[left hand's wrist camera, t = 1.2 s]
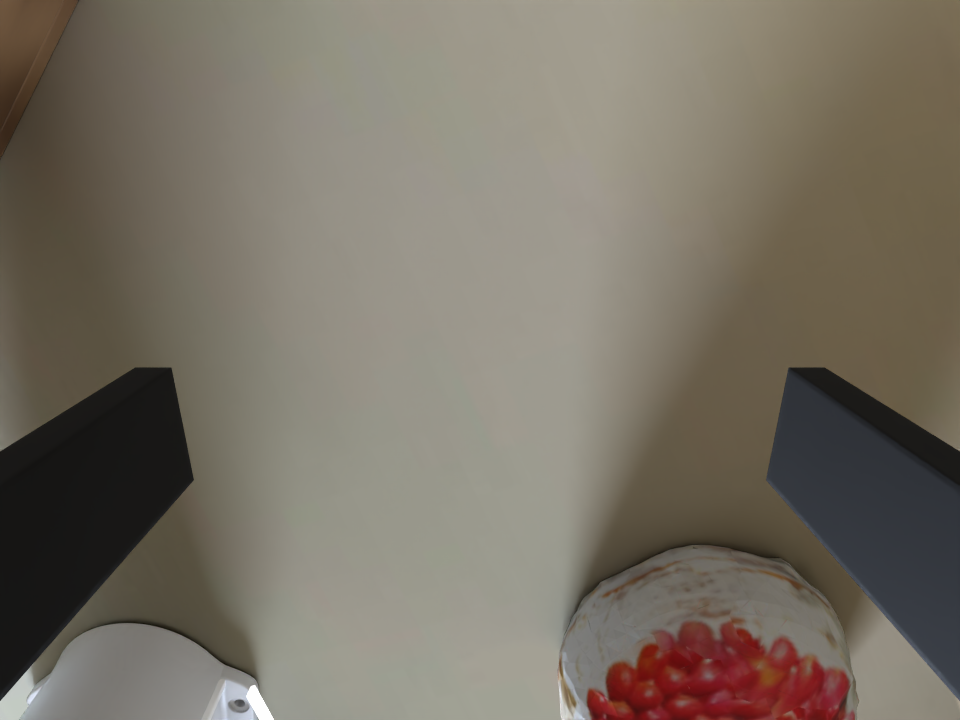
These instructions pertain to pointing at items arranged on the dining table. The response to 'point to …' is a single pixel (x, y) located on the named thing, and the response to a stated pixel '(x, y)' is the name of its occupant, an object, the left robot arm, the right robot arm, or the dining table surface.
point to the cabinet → (26, 53)
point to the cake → (706, 644)
